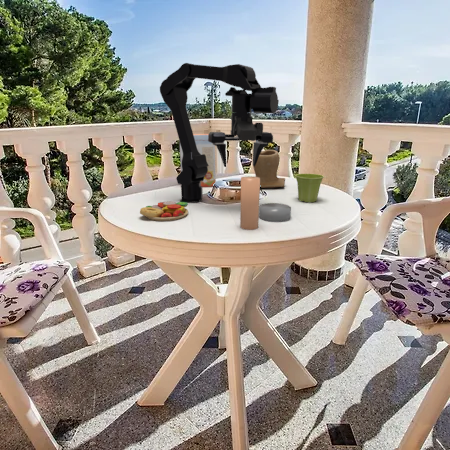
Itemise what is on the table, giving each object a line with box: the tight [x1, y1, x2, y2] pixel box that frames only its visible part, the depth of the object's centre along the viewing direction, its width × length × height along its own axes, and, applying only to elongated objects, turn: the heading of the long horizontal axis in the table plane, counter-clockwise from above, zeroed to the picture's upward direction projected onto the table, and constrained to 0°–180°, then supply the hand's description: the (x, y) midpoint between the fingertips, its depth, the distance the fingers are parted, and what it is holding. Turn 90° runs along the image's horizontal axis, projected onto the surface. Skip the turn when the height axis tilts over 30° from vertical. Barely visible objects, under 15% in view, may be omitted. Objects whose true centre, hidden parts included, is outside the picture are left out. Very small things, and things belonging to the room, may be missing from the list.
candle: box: [239, 175, 261, 231], centre depth 85 cm, size 5×5×13 cm
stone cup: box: [252, 149, 286, 189], centre depth 132 cm, size 15×12×15 cm
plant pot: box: [294, 173, 325, 203], centre depth 113 cm, size 9×9×9 cm
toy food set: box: [139, 200, 189, 222], centre depth 97 cm, size 13×13×3 cm
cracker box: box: [179, 133, 217, 188], centre depth 134 cm, size 14×6×21 cm, turn 98°
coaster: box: [259, 202, 292, 223], centre depth 95 cm, size 9×9×3 cm
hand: (239, 166), depth 101 cm, fingers open, 9 cm apart
